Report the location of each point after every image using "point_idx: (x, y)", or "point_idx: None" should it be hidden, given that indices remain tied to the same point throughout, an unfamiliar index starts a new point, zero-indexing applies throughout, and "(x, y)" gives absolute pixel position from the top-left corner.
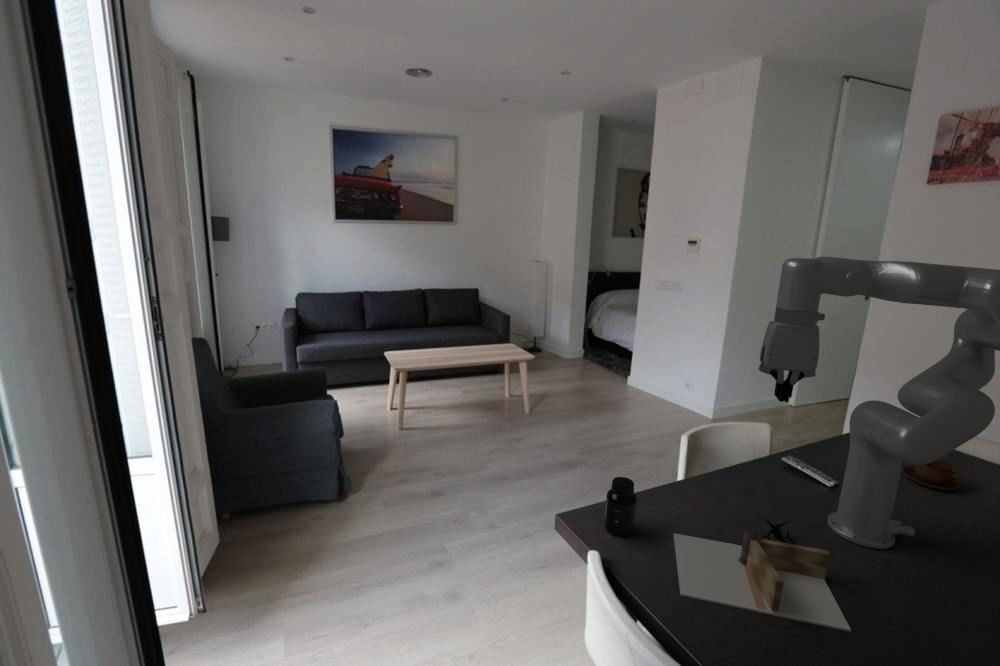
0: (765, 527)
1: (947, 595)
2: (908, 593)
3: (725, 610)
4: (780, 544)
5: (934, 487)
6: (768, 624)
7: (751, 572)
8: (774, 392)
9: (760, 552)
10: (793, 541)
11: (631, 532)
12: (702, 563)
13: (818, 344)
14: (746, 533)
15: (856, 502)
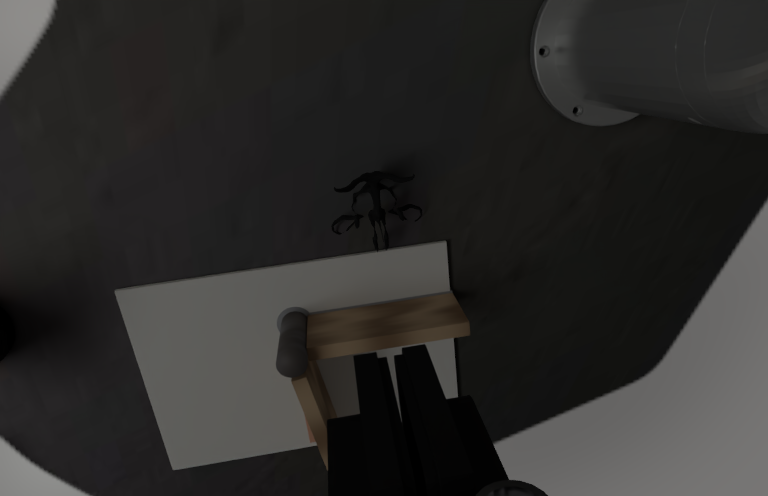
0: (352, 139)
1: (679, 239)
2: (605, 267)
3: (257, 463)
4: (363, 347)
5: None
6: None
7: None
8: (327, 426)
9: (312, 417)
10: (412, 207)
11: (9, 350)
12: (201, 370)
13: None
14: (281, 366)
15: (626, 102)
